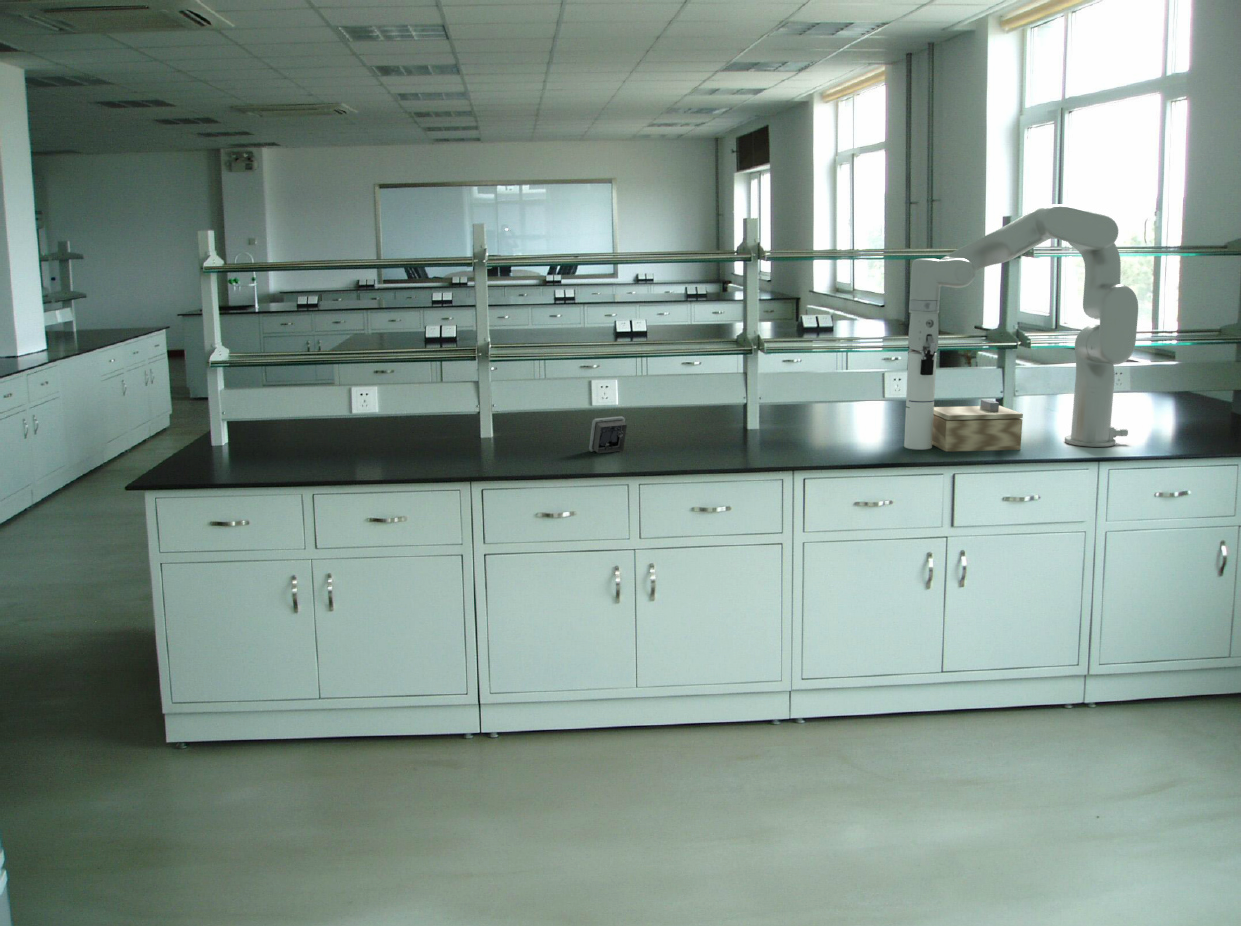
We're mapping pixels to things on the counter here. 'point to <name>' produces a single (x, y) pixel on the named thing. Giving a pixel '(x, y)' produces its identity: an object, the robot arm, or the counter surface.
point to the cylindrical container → (919, 404)
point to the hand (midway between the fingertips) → (919, 372)
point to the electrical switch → (608, 434)
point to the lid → (977, 412)
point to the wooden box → (977, 434)
